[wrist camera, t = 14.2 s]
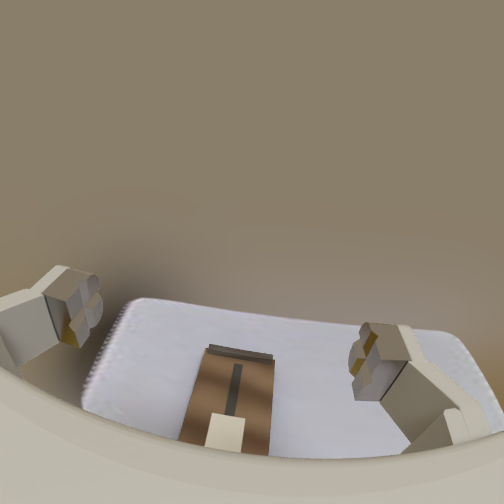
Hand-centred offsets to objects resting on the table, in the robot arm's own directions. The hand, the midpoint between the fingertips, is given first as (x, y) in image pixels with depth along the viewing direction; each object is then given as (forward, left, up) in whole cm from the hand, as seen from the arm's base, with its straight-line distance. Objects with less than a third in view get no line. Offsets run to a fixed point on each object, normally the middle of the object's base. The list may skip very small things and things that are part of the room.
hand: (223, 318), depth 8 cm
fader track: (+5, +7, -28) cm, 29 cm away
